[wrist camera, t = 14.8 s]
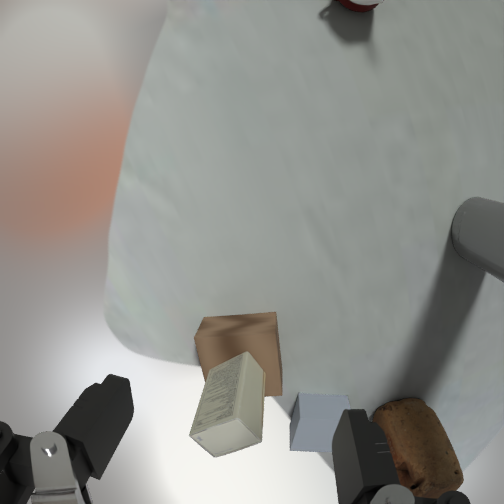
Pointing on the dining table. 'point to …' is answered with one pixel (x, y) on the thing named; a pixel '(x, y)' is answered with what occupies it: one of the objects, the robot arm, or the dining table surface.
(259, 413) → the skincare box
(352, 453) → the robot arm
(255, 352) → the walnut block
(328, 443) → the slate block
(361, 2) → the cocoa
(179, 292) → the dining table surface
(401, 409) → the block
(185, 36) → the dining table surface
